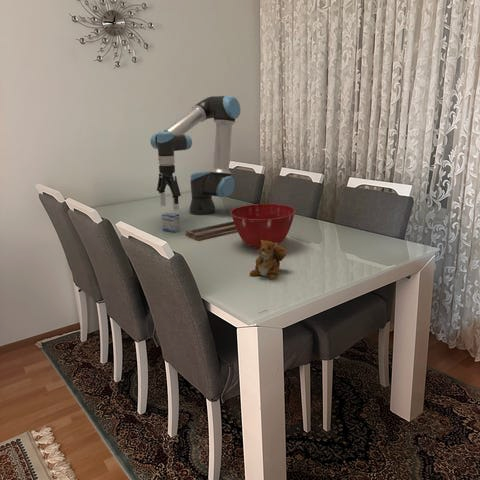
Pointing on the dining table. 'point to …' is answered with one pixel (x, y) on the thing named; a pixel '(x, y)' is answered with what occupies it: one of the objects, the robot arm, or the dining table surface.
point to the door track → (212, 231)
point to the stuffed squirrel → (269, 259)
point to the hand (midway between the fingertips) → (169, 208)
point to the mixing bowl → (263, 223)
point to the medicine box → (171, 222)
